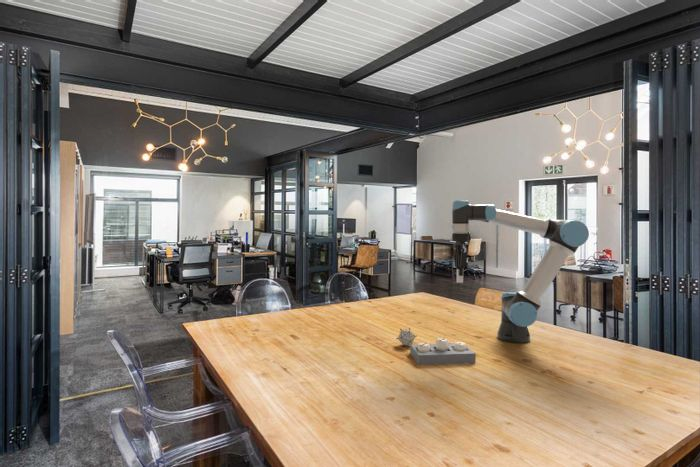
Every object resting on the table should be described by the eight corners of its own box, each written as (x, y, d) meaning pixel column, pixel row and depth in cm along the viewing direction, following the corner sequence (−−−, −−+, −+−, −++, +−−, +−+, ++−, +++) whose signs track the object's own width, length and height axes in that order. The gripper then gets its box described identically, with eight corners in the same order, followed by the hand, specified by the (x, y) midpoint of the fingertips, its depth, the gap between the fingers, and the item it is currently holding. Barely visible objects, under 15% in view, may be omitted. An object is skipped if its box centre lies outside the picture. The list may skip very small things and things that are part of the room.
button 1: (463, 352, 175) (463, 341, 175) (467, 356, 170) (467, 344, 170) (452, 353, 175) (452, 341, 174) (456, 357, 170) (456, 345, 169)
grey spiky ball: (409, 354, 187) (415, 341, 181) (392, 347, 188) (398, 333, 182) (414, 340, 194) (420, 327, 188) (397, 333, 195) (403, 320, 189)
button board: (462, 351, 180) (462, 342, 180) (475, 362, 166) (475, 353, 166) (410, 353, 177) (410, 344, 177) (418, 364, 163) (418, 355, 163)
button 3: (427, 354, 173) (427, 342, 173) (431, 358, 168) (431, 346, 168) (416, 354, 173) (416, 342, 173) (419, 358, 168) (419, 346, 168)
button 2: (445, 349, 174) (445, 337, 174) (449, 353, 169) (449, 341, 169) (434, 349, 174) (434, 338, 174) (438, 353, 169) (438, 341, 169)
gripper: (447, 232, 196) (447, 280, 197) (457, 233, 183) (457, 284, 184) (462, 232, 197) (462, 280, 198) (473, 233, 184) (472, 284, 185)
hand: (459, 282), depth 191 cm, fingers closed
